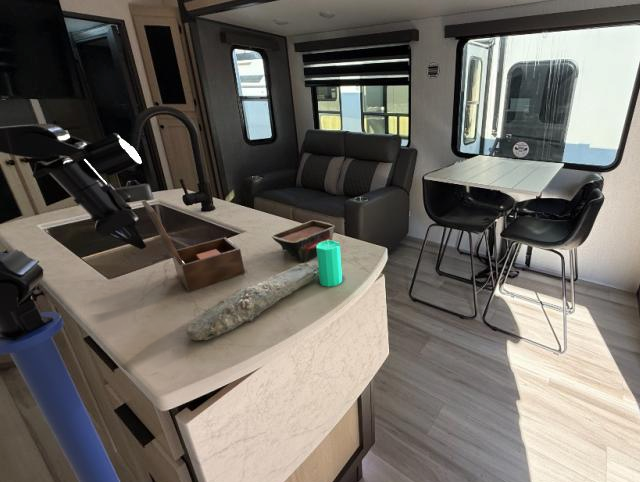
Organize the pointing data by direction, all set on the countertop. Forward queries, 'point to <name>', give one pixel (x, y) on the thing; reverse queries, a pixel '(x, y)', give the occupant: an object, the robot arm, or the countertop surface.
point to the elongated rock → (250, 302)
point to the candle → (329, 263)
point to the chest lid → (162, 232)
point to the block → (207, 254)
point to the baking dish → (304, 239)
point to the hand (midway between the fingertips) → (143, 247)
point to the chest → (208, 263)
